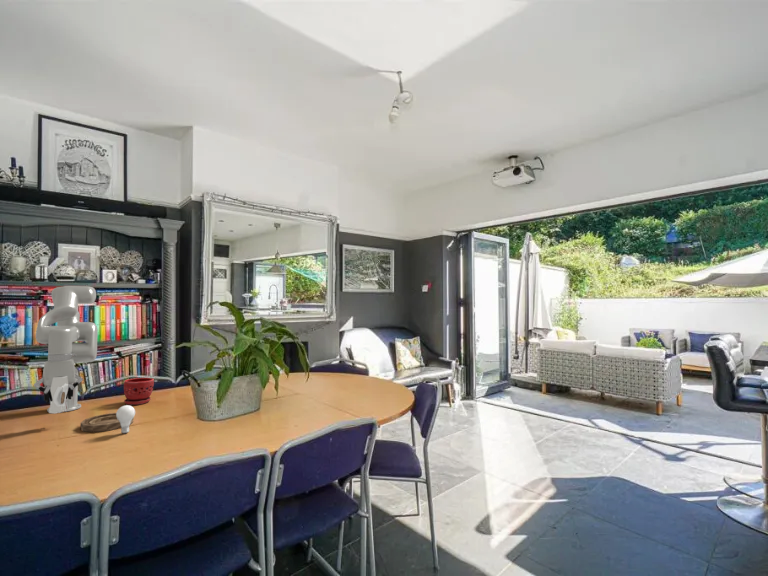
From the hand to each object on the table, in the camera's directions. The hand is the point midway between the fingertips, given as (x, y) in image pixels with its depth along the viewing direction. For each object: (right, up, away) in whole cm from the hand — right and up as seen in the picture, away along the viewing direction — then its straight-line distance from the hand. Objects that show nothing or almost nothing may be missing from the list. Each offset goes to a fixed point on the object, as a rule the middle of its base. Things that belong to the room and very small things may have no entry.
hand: (58, 399), depth 160 cm
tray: (+19, -11, +3) cm, 22 cm away
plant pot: (+9, -13, +38) cm, 41 cm away
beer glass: (0, -5, 0) cm, 5 cm away
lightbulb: (+33, -11, -7) cm, 35 cm away
